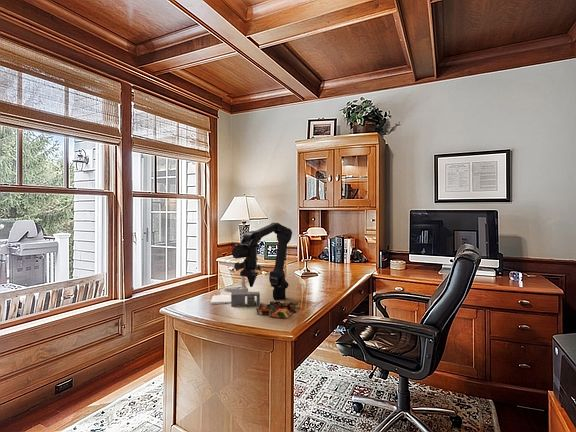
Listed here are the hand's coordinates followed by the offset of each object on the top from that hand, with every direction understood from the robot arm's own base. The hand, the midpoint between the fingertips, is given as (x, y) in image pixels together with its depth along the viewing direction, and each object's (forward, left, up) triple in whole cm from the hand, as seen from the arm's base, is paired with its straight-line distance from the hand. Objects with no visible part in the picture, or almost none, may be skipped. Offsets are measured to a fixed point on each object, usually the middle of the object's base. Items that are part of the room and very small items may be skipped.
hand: (251, 287), depth 178 cm
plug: (0, -4, -10) cm, 11 cm away
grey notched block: (+3, -3, -10) cm, 11 cm away
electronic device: (+9, -33, -10) cm, 36 cm away
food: (-13, +10, -11) cm, 20 cm away
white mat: (+15, -13, -10) cm, 22 cm away
